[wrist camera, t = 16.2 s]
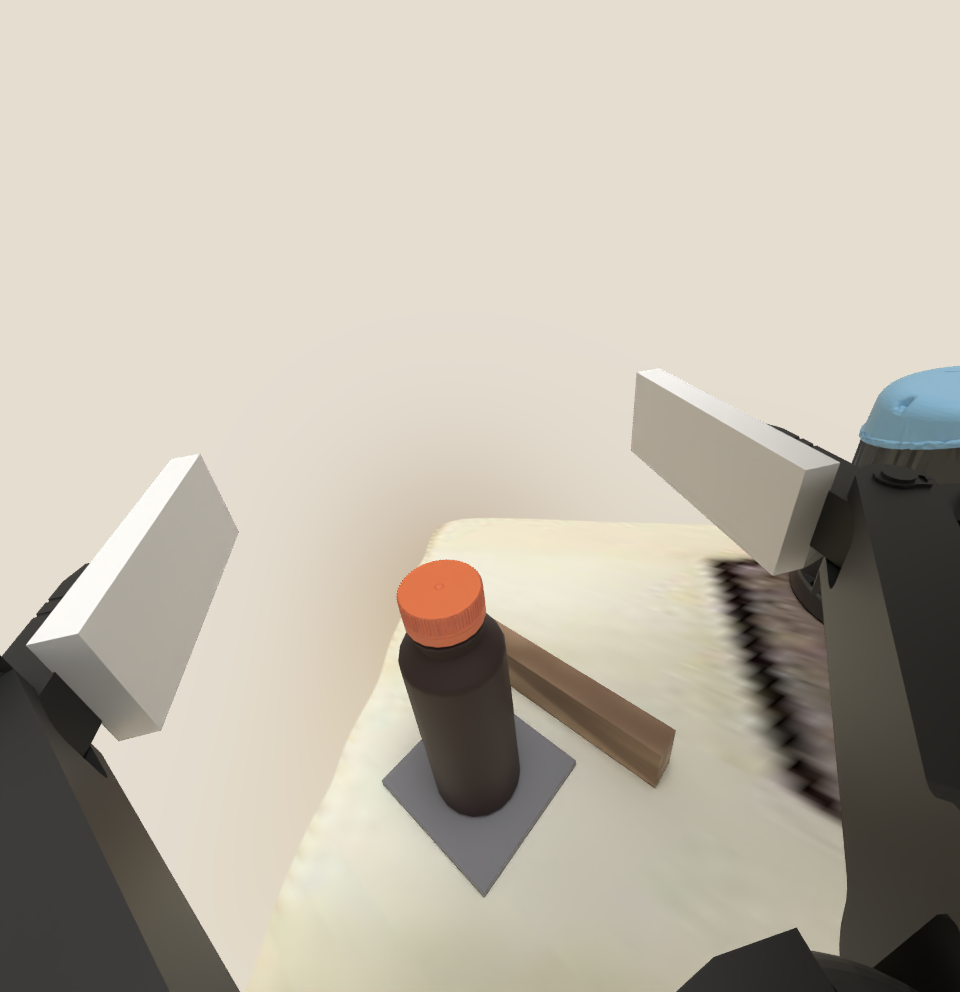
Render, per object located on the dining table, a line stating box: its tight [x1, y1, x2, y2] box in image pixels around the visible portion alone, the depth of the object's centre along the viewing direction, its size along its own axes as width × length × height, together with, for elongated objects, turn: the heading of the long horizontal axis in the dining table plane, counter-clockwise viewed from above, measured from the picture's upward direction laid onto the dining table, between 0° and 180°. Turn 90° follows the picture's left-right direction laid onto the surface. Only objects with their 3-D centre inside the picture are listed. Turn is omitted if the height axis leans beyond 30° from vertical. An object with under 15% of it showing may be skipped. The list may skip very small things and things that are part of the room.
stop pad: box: [382, 715, 576, 897], centre depth 37 cm, size 11×11×1 cm
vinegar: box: [397, 560, 520, 817], centre depth 31 cm, size 7×7×20 cm
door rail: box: [495, 620, 676, 788], centre depth 41 cm, size 2×22×4 cm, turn 48°
